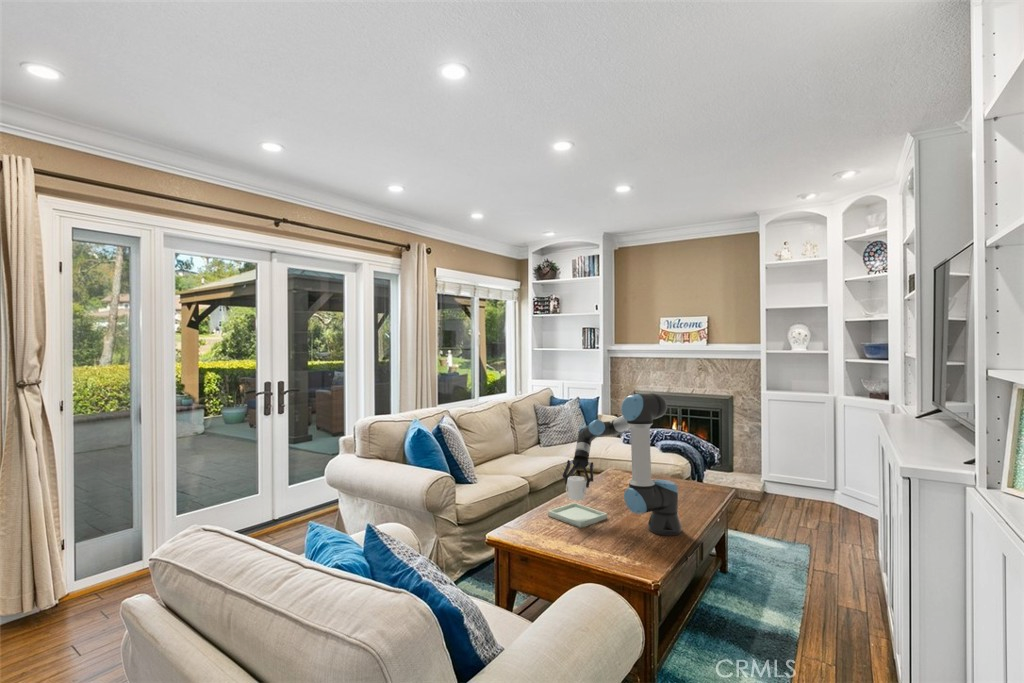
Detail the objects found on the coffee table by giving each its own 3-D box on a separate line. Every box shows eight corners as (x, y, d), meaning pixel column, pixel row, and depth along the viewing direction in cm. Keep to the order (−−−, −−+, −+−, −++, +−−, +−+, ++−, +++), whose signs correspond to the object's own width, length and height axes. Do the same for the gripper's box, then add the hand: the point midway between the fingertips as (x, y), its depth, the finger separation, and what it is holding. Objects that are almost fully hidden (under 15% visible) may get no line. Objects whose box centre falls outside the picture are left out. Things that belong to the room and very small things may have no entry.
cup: (567, 500, 252) (567, 480, 252) (568, 492, 264) (568, 473, 264) (584, 501, 251) (584, 481, 251) (584, 493, 263) (584, 474, 263)
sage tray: (607, 518, 255) (607, 513, 255) (580, 528, 242) (580, 522, 242) (574, 507, 272) (574, 502, 272) (547, 515, 259) (547, 510, 259)
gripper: (602, 458, 268) (597, 498, 253) (563, 455, 275) (556, 493, 260) (601, 450, 263) (595, 490, 248) (561, 447, 270) (553, 485, 255)
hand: (575, 491), depth 254 cm, fingers closed on cup, 8 cm apart
